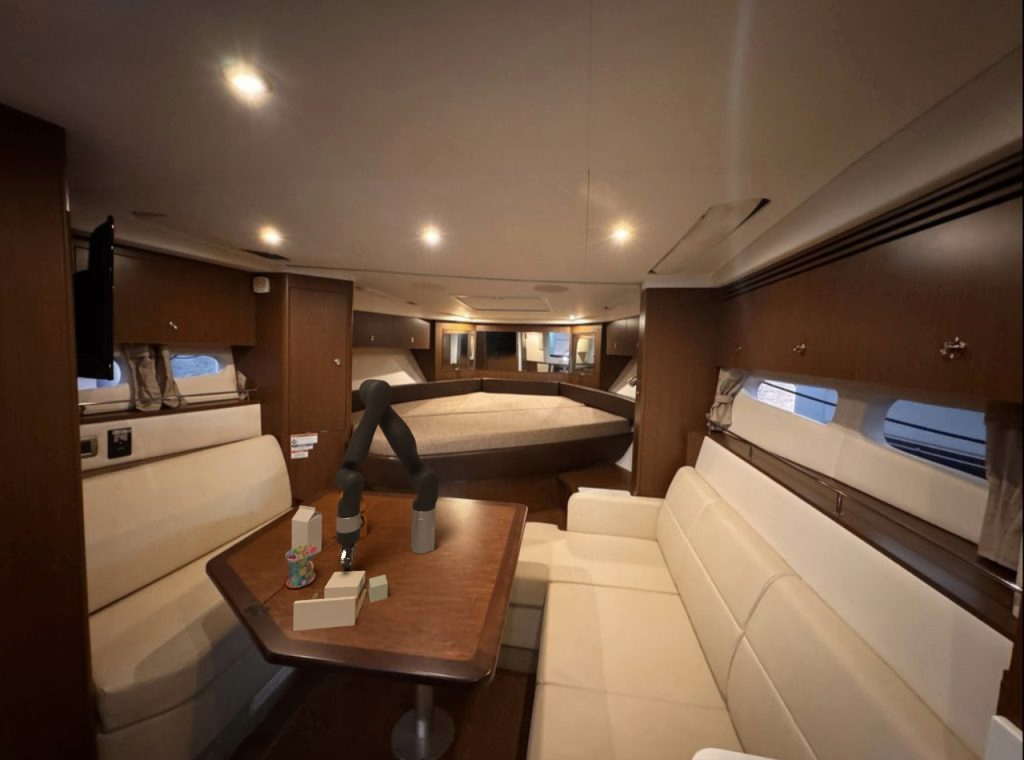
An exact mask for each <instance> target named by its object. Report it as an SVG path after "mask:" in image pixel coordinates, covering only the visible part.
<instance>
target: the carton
mask: <svg viewBox="0 0 1024 760" xmlns="http://www.w3.org/2000/svg"><path fill="white" fill-rule="evenodd" d="M365 583H366V570H358V571H357V570H352V571H349V572H344V571H335V572H333V574H332V575H331V577H330V578H329V580H328V582H327V584H326V585H325V586H324V590H323V591H324V597H323V599H327V598H339V597H352V596H356V599H358V598H359V596H360V594H361V592H362V589H363V588H364V585H365Z"/></svg>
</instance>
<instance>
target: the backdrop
mask: <svg viewBox="0 0 1024 760" xmlns="http://www.w3.org/2000/svg"><path fill="white" fill-rule="evenodd" d="M356 600H357V598H356V596H352V597H339V598H327V599H324V598H316V599H314V600H311V599H305V600H303V599H302V600H295V601H294V602H293V621H292V622H293V629H292V630H293V632H295V631H296V632H298V631H308V630H317V629H318V630H319V629H329V628H338V627H340V628H341V627H349V626H350V627H351V626H355V624H356V621H355V610H356V606H357V605H356Z"/></svg>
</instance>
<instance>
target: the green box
mask: <svg viewBox="0 0 1024 760" xmlns="http://www.w3.org/2000/svg"><path fill="white" fill-rule="evenodd" d="M388 585H389V584H388V580H387V577H386V574H382V575H378V576H374V577H370V578H368V596H369V601H370V602H369V603H370V604H372V603H375V602H378V601H382V600H385V599H388Z"/></svg>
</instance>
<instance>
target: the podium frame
mask: <svg viewBox="0 0 1024 760" xmlns="http://www.w3.org/2000/svg"><path fill="white" fill-rule="evenodd" d="M367 592H368V588H363V590H362V591H361V596H360V597H359V600H358V603H357V605H356V607H355V622H357V618H358V616H359V613H360V611H361V607H362V606H363V603H364V601H365V597H366V596H367V595H366V594H367ZM318 595H319V592H314V593H313V595H312V597H311V598H310V600H314V599H317V597H318Z"/></svg>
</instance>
